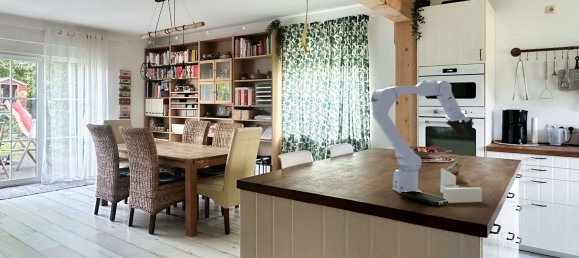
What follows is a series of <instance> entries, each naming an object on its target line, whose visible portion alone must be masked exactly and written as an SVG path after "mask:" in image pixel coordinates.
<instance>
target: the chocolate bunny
mask: <svg viewBox="0 0 579 258" xmlns="http://www.w3.org/2000/svg"><path fill="white" fill-rule="evenodd" d="M462 166H463V165H462V163H459V161H458V160H456V161H455V162H454V163H453V164H452V165H451V166H448V167H447V169H446V170H447V171H449V172H450V173H452V174H453V175H455V176H456V184H466V183H467V182H468V181H467V178H466V177H465V175H464V174H463V173H461V172H460V171H459V170H460V168H461V167H462Z"/></svg>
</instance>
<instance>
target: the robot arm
mask: <svg viewBox="0 0 579 258" xmlns="http://www.w3.org/2000/svg"><path fill="white" fill-rule="evenodd" d="M410 94H413V95H414V94H416V95H418V97H431V96H432V97H433V96H436V98H437V99H438V101H439V103H440V105H441V107H442V109H443V110H444V113H445V116H444V117H445V120H448V121H446V122H445V124H446V125H448V126H449V127H451V128H452V129H453V130H454V131H455V132H456V134H457V135H460V134H462V133H464V132H465V133H466V135H467V136H468V137H471V136H473V135H474V128H473V117H470V116H469V115H466V110H462V108H461V107H460V105H459V103H458V102H457V100H456V98H455V97H454V94H453V91H452V83H449V82H448V81H446V80H439V81H438V80H432V81H426V80H421V81H420V82H418V83H417V84H416V85H397V86H396V85H395V86H390V87H384V88H382V89H376V90H374V91H373V93H372V96H371V97H370V102H371V104H372V105H371V106H372V116H373V119H375V121H376V123H377V124H378V126H379V127H380V130H381V131H382V132H383V134H384V136H386V139H387V140H388V142H389V143H390V145H391V146H392V148H393V150H394V151H395V153H394V155H395V157H396V161H397V164H398V165H399V169H394V171H393V173H392V174H393V175H392V190H393V191H395V192H397V193H399V194H402V193H401V192H405V191H416V192H420V193H422V190H420V189H419V171H420V170H419V169H421V167H422V164H423V162H422V158H421V156H419V155H418V154H416V152H415V150H413V149H412V148H411V147H410V146H409V145H408V144H407V142H406V140H405V138H403V136H402V135H401V133H400V132H399V129H398V128H397V127H396V125H395V123H394V122H393V120H392V118H391V117H390V115H389V112H390V109H391V107H392V106H394V105H393V104H394V103H395V102H396V99H399V97H400V96H401V95H410Z"/></svg>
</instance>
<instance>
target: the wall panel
mask: <svg viewBox="0 0 579 258" xmlns="http://www.w3.org/2000/svg"><path fill="white" fill-rule="evenodd" d="M442 194H443V198H444V199H446V200H447V201H448V203H447V204H453V203H454V204H455V203H456V204H457V203H479V202H480V203H481V202H482V201H483V200H482V199H483V198H482V196H483V195H482V194H483V188H482V187H477V186H476V187H459V188H444V193H442Z"/></svg>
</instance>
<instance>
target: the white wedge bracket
mask: <svg viewBox="0 0 579 258" xmlns="http://www.w3.org/2000/svg"><path fill="white" fill-rule="evenodd" d="M439 186H440V189H439V190H440V191H439V192H440V193H441V194H443V193H444V188H460V186H459V185H457V183H456V176H455V175H453V174H452V173H450V172H449V171H447V169H446V168H443V167H440V185H439Z"/></svg>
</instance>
